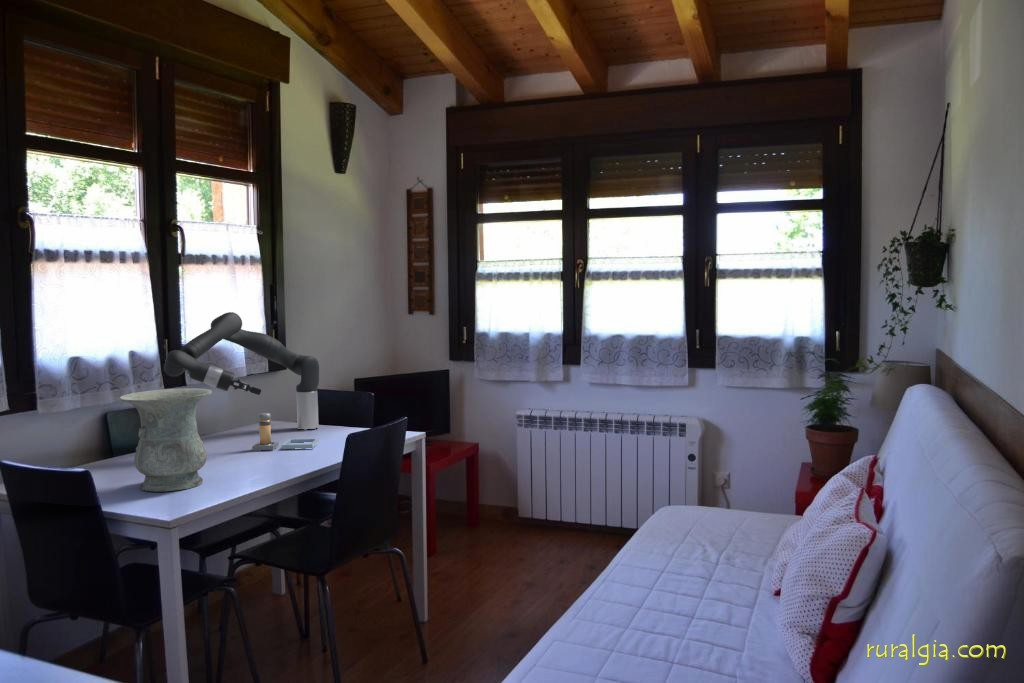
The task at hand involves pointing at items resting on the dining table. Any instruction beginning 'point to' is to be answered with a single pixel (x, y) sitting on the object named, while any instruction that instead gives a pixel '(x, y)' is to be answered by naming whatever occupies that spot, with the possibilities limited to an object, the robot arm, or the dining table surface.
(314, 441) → the parts tray
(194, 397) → the vessel
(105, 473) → the dining table surface
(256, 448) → the socket block
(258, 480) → the dining table surface
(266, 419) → the grey capped cylinder
